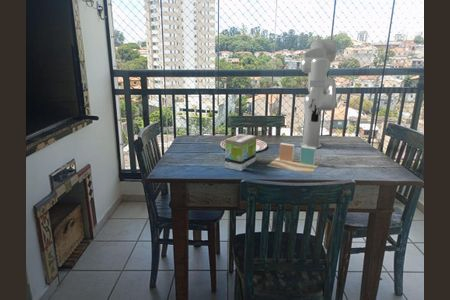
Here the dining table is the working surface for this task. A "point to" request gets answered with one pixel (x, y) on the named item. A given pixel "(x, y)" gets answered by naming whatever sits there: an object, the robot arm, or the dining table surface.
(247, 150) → the tea box
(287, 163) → the striped wooden board
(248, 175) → the dining table surface
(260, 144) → the dinner plate
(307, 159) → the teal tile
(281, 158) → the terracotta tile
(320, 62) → the robot arm
